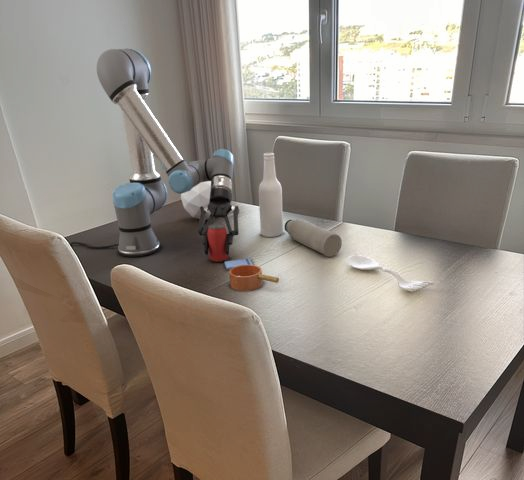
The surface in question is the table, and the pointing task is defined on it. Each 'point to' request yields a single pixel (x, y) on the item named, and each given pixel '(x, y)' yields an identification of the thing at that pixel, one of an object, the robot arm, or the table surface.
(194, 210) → the geometric orb
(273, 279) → the pan handle
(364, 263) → the spoon
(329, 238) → the thermos bottle
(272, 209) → the alcohol
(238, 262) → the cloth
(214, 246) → the beer can
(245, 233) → the table surface
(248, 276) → the pan
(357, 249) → the table surface
